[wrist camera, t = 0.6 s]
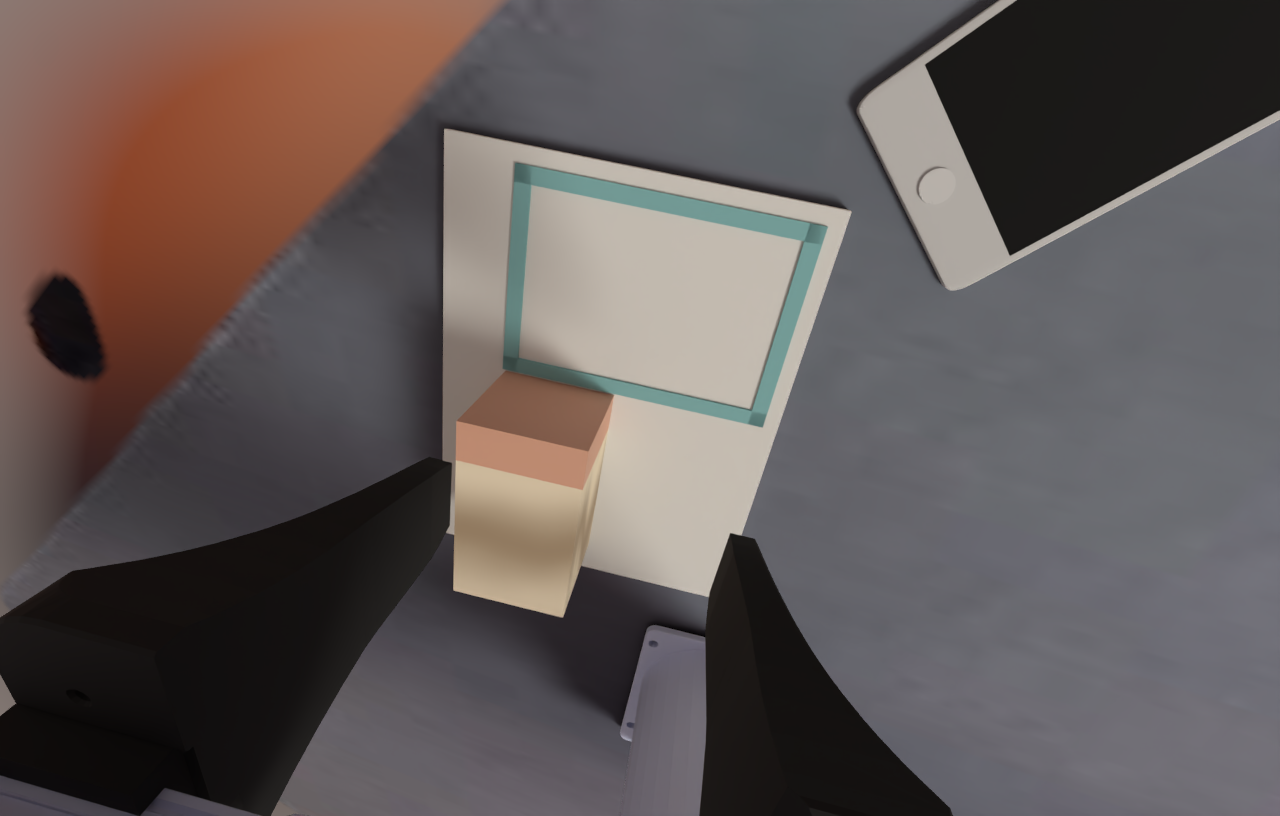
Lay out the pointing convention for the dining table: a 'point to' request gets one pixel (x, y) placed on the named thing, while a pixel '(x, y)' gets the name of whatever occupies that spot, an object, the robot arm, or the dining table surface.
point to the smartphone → (1065, 116)
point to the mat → (635, 330)
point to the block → (527, 490)
